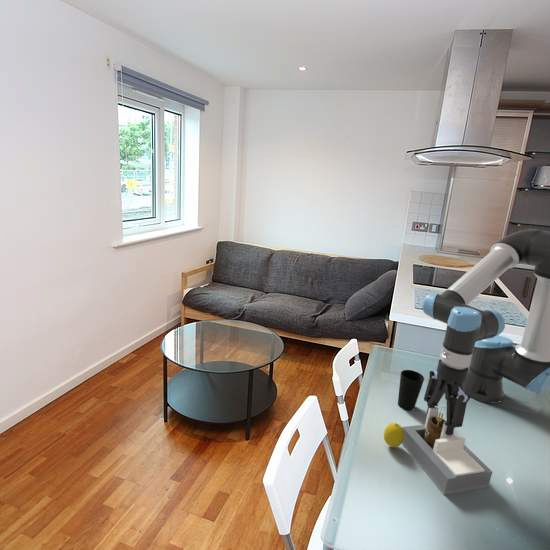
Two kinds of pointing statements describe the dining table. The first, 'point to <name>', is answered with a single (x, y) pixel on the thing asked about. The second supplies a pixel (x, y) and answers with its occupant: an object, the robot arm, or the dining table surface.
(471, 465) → the panel
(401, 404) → the cup
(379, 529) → the dining table surface
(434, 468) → the socket block
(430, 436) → the utensil holder
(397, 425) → the lemon
